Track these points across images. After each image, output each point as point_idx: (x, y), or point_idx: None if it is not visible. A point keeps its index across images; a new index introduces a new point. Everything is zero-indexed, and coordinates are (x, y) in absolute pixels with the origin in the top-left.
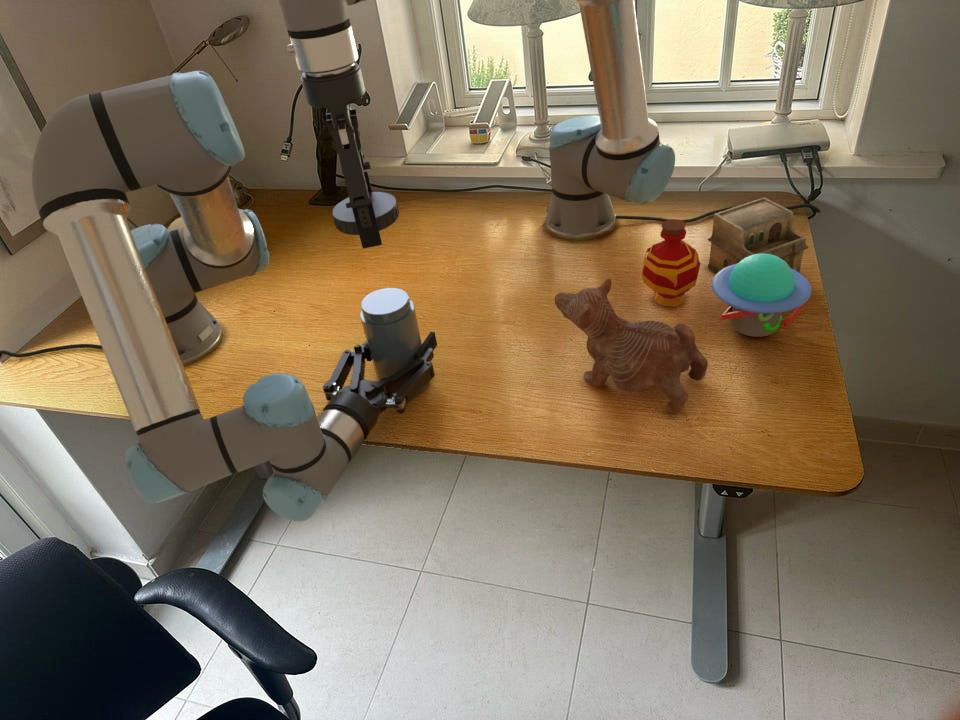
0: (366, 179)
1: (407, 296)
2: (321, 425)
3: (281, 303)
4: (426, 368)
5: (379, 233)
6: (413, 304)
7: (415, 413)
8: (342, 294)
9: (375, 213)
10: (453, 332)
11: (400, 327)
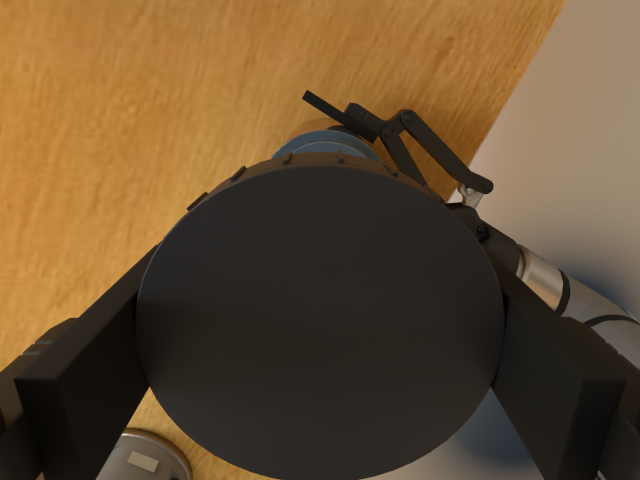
0: (87, 363)
1: (326, 144)
2: None
3: None
4: (421, 124)
5: (491, 264)
6: (323, 130)
7: (410, 152)
8: (24, 253)
9: (449, 298)
10: (201, 49)
11: None
